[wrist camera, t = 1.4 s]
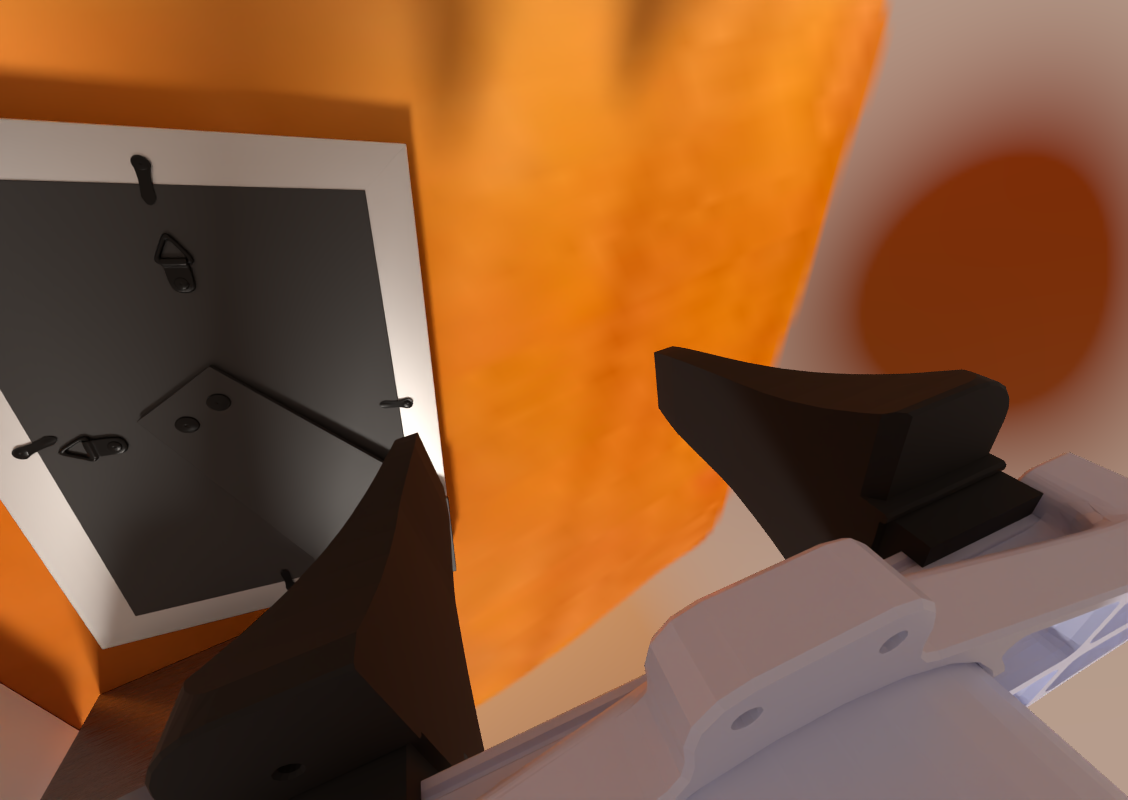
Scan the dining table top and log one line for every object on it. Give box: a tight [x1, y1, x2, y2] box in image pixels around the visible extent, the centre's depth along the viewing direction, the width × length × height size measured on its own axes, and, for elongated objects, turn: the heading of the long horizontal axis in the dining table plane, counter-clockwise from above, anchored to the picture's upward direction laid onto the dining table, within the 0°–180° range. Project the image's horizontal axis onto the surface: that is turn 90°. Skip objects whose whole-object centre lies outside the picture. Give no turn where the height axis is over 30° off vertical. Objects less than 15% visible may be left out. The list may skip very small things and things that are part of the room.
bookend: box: [40, 637, 237, 800], centre depth 20 cm, size 1×10×6 cm, turn 103°
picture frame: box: [0, 118, 456, 649], centre depth 18 cm, size 16×3×21 cm
